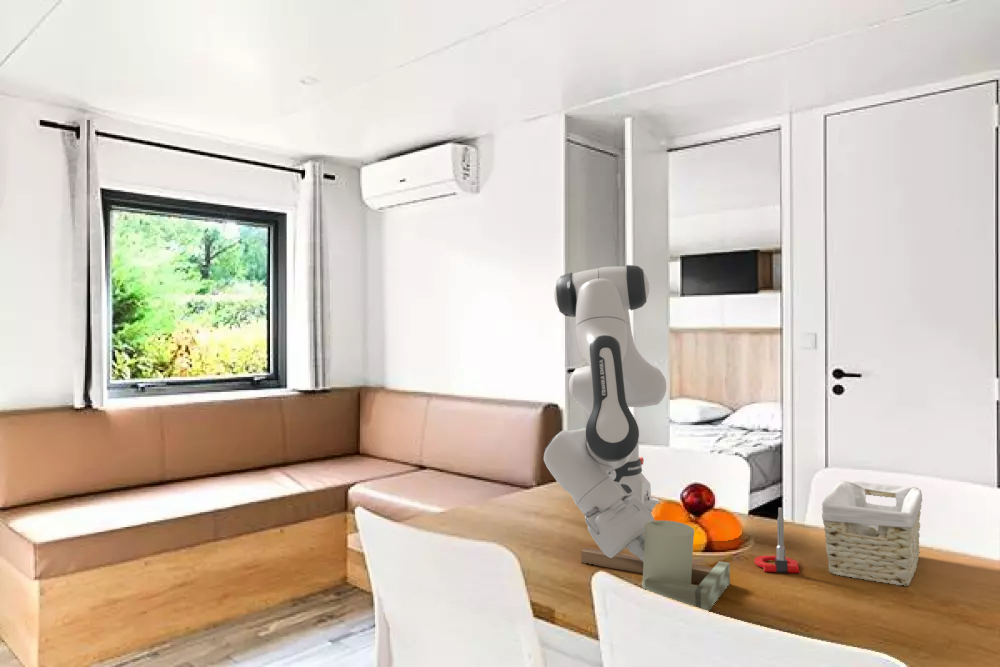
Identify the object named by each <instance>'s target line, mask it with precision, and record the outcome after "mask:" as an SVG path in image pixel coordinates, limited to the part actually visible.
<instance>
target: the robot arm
mask: <svg viewBox="0 0 1000 667" xmlns="http://www.w3.org/2000/svg"><path fill="white" fill-rule="evenodd" d="M553 292H554V293H553V294H554V296H553V297H554V301H555V305H556V306H557V308H558V311H559V312H560V313H561V314H562V315H563V316H565V317H572V318H575V334H576V335H575V336H576V341H577V346H578V351H579V355H580V357H581V359H582V360H583V361H584V362H585V363H586V364H587V365H586V366H585V365H584V366H581V367H577V368H576V369H574V371H573V372H572V373H571V375H570V377H569V380H568V391H569V394H570V396H571V398H572V399H573V400H574V402H575V403H576V404H578V405H579V406H580V407H581V408H582V409H583V410H584V411H585V412H586V413H587V415H588V417H589V418H588V420H587V423H586V427H583V428H578V429H574V430H573V429H572V430H565V429H563V430H561V431H558V433H556V434H555V435H554V436H553V437H552V439H550V441H549V442H548V443H547V446H546V447H545V449H544V451H543V462H544V464H545V466H546V468H547V469H548V471H549V472H550V474H551V475H552V477H553V478H554V479H555V481H556V482H557V483H558V485H560V487H561V488H562V489H563V490H564V491H565V492H567V493H568V494H569V495H570V496H571V498H572V500H573V502H574V503H575V505H576V507H577V508H578V509H579V511H580V512H582V514H583V515H584V519H585V520H584V522H585V524H586V525H587V530H588V533H589V534H590V536H591V538H592V539H593V541H594V542H595V543H596V545H597V546H598V548H599V550H602V552H603V553H604V554H605V555H606V556H608V557H609V558H612V557H614V556H615V555H617V554H618V553H622V551H624V549H626V548H627V550H628V551H629V552H630V553H631V554H632V555H635V556H637V557H639V558H640V559H641V560H642V561H643V563H644V543H645V524H646V523H648V522H650V521H656V519H655V518H654V515H653V516H652V514H651V512H652V509H653V508H654V507H655V505H656V504H658V502H659V503H660V499H658V498H655V497H652V488H651V482H650V481H649V480H648V479H647V478H646V477H645V475H644V474H643V473H642V472H643V469H642V465H644V457H643V456H639V453H640V452H639V449H640V448H639V447H640V446H639V445H640V444H639V443H640V442H639V439H640V429H639V425H638V423H637V420H636V419H635V416H634V415H633V413H632V411H631V410H630V408H646V407H650V406H651V407H652V406H657V405H659V404H660V403H661V402H662V401H663V399H664V398H665V396H666V393H667V381H666V378H665V376H664V374H663V372H662V371H661V370H660V369H659V368H657V367H656V366H654V365H652V364H651V363H649V362H648V361H647V360H646V359H645V358H644V357H643V356H642V355H641V353H640V352H639V350H638V349H637V347H636V344H635V341H634V336H633V331H632V324H631V318H630V311H633V310H634V311H635V310H638V309H640V308H643V306H644V305H645V304H646V303H647V300H648V297H649V294H650V283H649V279H648V276H647V274H646V273H645V272H644V269H642V268H641V267H640V266H638V265H635V264H634V265H631V264H626V266H620V265H619V266H603V267H598V268H592V269H587V270H582V271H578V272H574V273H573V272H569V273H565V274H563V275H561V276H560V277H558V279H557V280H556V283H555V286H554V291H553ZM629 310H630V311H629Z"/></svg>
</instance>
